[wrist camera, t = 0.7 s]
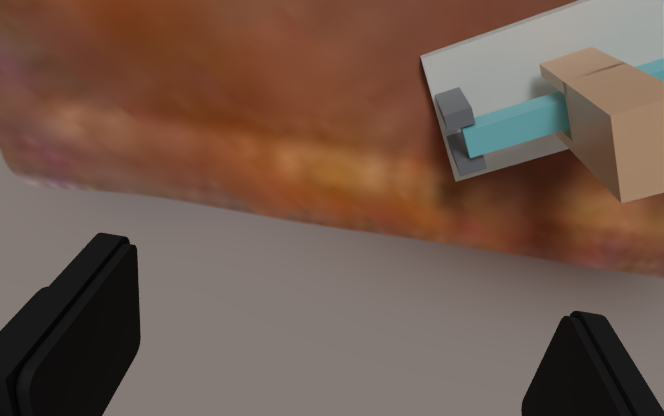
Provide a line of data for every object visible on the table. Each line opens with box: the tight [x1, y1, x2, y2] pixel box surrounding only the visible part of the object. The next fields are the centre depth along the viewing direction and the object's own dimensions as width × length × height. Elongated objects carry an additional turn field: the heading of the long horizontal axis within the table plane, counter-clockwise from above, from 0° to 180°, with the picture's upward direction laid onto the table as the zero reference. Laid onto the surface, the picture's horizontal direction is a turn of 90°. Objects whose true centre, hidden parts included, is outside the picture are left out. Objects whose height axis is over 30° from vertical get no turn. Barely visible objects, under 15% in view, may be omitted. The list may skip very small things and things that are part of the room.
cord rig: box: [420, 0, 664, 182], centre depth 29 cm, size 24×9×7 cm, turn 110°
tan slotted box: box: [539, 47, 664, 204], centre depth 27 cm, size 3×4×10 cm
